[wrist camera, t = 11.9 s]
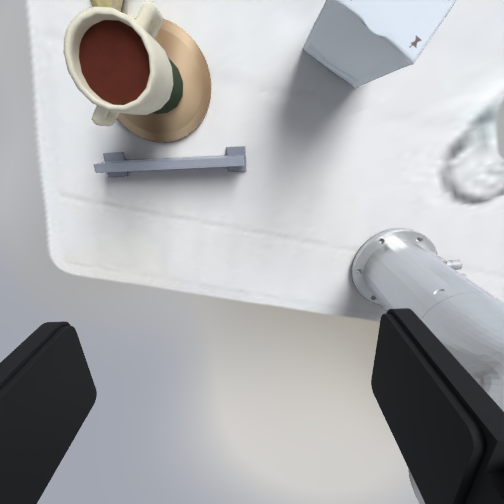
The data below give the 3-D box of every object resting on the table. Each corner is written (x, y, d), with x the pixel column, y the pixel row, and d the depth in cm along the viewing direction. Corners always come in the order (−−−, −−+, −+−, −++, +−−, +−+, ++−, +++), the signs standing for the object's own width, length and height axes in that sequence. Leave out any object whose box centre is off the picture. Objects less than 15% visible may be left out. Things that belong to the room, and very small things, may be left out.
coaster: (205, 15, 32) (204, 13, 32) (216, 139, 37) (215, 139, 37) (90, 21, 33) (86, 19, 32) (116, 144, 38) (114, 144, 37)
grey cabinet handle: (245, 146, 38) (244, 148, 34) (246, 170, 39) (245, 174, 35) (105, 153, 38) (89, 155, 34) (110, 176, 39) (96, 181, 35)
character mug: (152, 17, 32) (95, -50, 20) (207, 61, 34) (185, 24, 22) (110, 107, 35) (40, 96, 23) (162, 143, 37) (121, 150, 25)
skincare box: (385, 41, 34) (480, -20, 20) (353, 92, 36) (418, 68, 22) (327, -7, 32) (387, -110, 18) (296, 49, 34) (328, -6, 20)
